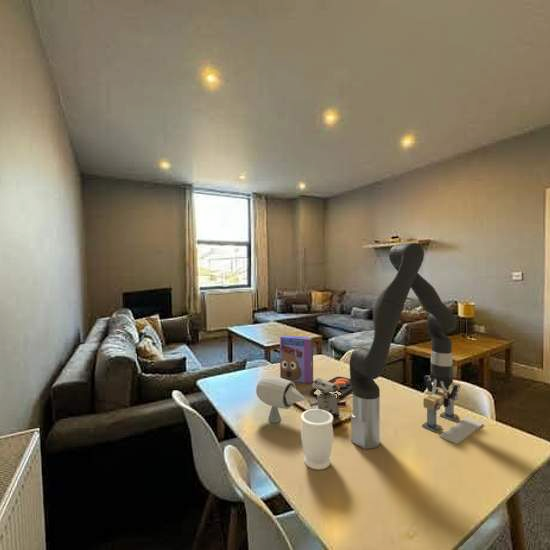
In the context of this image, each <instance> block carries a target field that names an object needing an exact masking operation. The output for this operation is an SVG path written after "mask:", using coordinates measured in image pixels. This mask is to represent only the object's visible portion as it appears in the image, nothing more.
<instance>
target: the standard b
mask: <svg viewBox="0 0 550 550" xmlns="http://www.w3.org/2000/svg"><path fill="white" fill-rule="evenodd" d="M458 395H459V394H458V393H457V394H456V396H455V397H454V398H453V400H452V401H450V405H449V406H448V407H447V408H446V407H444V412H442V413H440V414H439V416H440V418H441V417H442V418H443V419H447V420H449V421H451V422H454V421H455V420H457V419H458V418H459V417H460V416H459V414H456V413H455V401H457V400H459V399H458V398H459V397H458Z"/></svg>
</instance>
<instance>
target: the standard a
mask: <svg viewBox="0 0 550 550" xmlns="http://www.w3.org/2000/svg"><path fill="white" fill-rule="evenodd" d="M439 410H441V407H440V403H438V404H436V409H435V410H434V411H432V410H430V409H427V408H426V421H425V422H424V423H422V424H421V427H422V428H424V429H426V430H428V431H431V432H433V433H436V432H438V431H439V430H441V429H442V425H440V424H438V423H437V411H439Z"/></svg>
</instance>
